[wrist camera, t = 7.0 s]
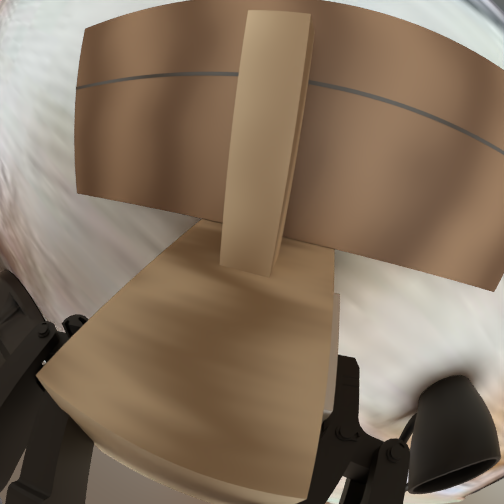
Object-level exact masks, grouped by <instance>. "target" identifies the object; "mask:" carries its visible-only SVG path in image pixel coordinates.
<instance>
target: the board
mask: <svg viewBox="0 0 504 504" xmlns="http://www.w3.org/2000/svg"><path fill="white" fill-rule="evenodd" d="M248 10H268V11H286V12H298V13H307V14H311V17H312V22H313V27H314V31H315V34H314V42H313V50H312V58H311V65H310V72H309V80H308V87H307V93H306V100H305V107H304V114H303V120H302V126H301V133H300V139H299V145H298V151H297V157H296V163H295V169H294V175H293V181H292V187H291V192H290V198H289V204H288V209H287V215H286V220H285V225H284V231H283V237H287V238H291V239H295V240H300V241H304V242H308V243H312V244H316V245H320V246H325V247H329V248H333V249H337V250H341V251H345V252H349V253H353V254H357V255H361V256H365V257H368V258H372V259H376V260H380V261H384V262H388V263H392V264H395V265H399V266H403V267H407V268H411V269H414V270H418V271H422V272H425V273H429V274H433V275H436V276H440V277H443V278H447V279H451V280H454V281H458V282H461V283H465V284H468V285H472V286H475V287H479V288H482V289H485V290H489V291H492V292H494V291H495V289H496V287H497V286H498V284H499V282H500V280H501V278H502V276H503V274H504V70H503V69H501V68H500V67H498V66H497V65H495V64H494V63H492V62H491V61H489V60H487V59H486V58H484V57H482V56H481V55H479V54H477V53H476V52H474V51H472V50H470V49H468V48H467V47H465V46H463V45H461V44H459V43H457V42H455V41H453V40H451V39H449V38H447V37H445V36H442V35H440V34H438V33H436V32H433V31H431V30H429V29H426V28H424V27H421V26H419V25H416V24H413V23H411V22H408V21H405V20H402V19H399V18H396V17H393V16H390V15H387V14H383V13H380V12H376V11H372V10H368V9H364V8H360V7H356V6H351V5H346V4H341V3H336V2H330V1H323V0H189V1H183V2H177V3H171V4H166V5H161V6H157V7H152V8H148V9H144V10H140V11H137V12H133V13H129V14H126V15H123V16H119V17H116V18H113V19H110V20H107V21H105V22H102V23H99V24H96V25H94V26H91V27H89V28H86V29H85V32H84V37H83V43H82V48H81V55H80V61H79V69H78V77H77V87H76V101H75V126H74V146H75V172H76V186H77V193H78V194H83V195H89V196H94V197H99V198H104V199H110V200H115V201H120V202H125V203H130V204H135V205H140V206H145V207H150V208H155V209H160V210H165V211H170V212H175V213H179V214H184V215H189V216H193V217H198V218H203V219H207V220H212V221H217V222H221V223H223V213H224V202H225V191H226V180H227V170H228V160H229V151H230V141H231V132H232V124H233V115H234V107H235V99H236V91H237V83H238V76H239V68H240V61H241V54H242V47H243V40H244V34H245V27H246V21H247V15H248Z"/></svg>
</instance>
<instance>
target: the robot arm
mask: <svg viewBox="0 0 504 504" xmlns="http://www.w3.org/2000/svg"><path fill="white" fill-rule="evenodd" d="M339 312H340V294H337V293H334V296H333V317H332V333H331V346H330V358H329V368H328V378H327V387H326V395H325V403H324V410H323V417H322V424H321V430H320V436H319V442H318V448H317V453H316V458H315V464H314V469H313V473H312V478H311V483H310V487H309V491H308V496H307V499H306V500H304V501H301V502H299V503H296V504H325V503H326V501H327V500H328V498H329V497H330V495H331V494H332V492H333V490H334V489H335V487H336V486H337V484H338V482H339V481H340V479H341V477H342V476H344V477H346V478H347V479H346V482H345V486H344V489H343V492H342V495H341V499H340V502H339V504H403V500H404V495H405V489H406V483H407V477H408V469H409V461H410V449H409V447H408V445H407V444H406V443H405V442H404V441H403V440H400V439H397V438H396V439H389V440H387V441H385V442H384V441H381V440H379V439H376V438H374V437H372V436H370V435H368V434H367V433H365V432H364V431H363V429H362V428H361V426H360V424H359V419H358V413H359V366H358V364H357V361H356V359H355V358H352V357H347V356H342V355H338V341H339ZM87 321H88V319H87V318H86V317H85V316H83V315H72V316H69V317H68V318H66V319H65V320H64V321H63V323H62V325H63V327H64V329H65V332H66V333H64V332H59V331H57V330H56V327H55V325H54V324H53V323H52V322H48V321H45V322H44V320H43V318H42V316H41V314H40V312H39V310H38V309H37V307H36V305H35V304H34V302H33V301H32V299H31V297H30V296H29V294H28V293H27V292H26V290H25V289H24V287H23V286H22V285H21V283H20V282H19V281H18V280H17V278H16V277H15V276H14V275H13V274H12V273H10V272H9V271H7V270H4V271H3V272H1V273H0V492H1V491H2V490H3V489H4V487H5V486H6V485H7V483H8V481H9V480H10V478H11V476H12V474H13V472H14V470H15V468H16V466H17V464H18V462H19V460H20V458H21V456H22V454H23V452H24V450H25V449H26V452H25V456H24V460H23V465H22V469H21V474H20V478H19V479H18V480H17V481H15V482H12V483H11V484H10V485H9V487H8V490H7V496H6V503H5V504H85V499H86V490H87V483H88V475H89V469H90V463H91V457H92V451H93V446H94V441H93V440H92V439H91V438H90V437H89V436H88V435H87V434H86V433H85V432H84V431H83V430H82V429H81V428H80V427H79V426H78V424H77V423H76V422H75V421H74V420H73V419H72V418H71V417H70V415H69V414H67V413H66V412H65V411H63V410H62V409H61V408H60V407H59V406H58V404H57V403H56V402H55V401H54V399H53V398H52V397H51V396H50V394H49V393H48V392H47V390H46V389H45V388H44V386H43V385H42V384H41V382H40V381H39V379H38V378H37V377H36V374H37V373H38V372H39V371H40V370H41V369H42V368H43V367H44V366H45V364H44V365H42V362H43V361H44V360H45V361H46V363H47V362H48V361H49V360H50V359H51V358H52V357H53V356H54V355H55V354H56V353H57V352H58V351H59V350H60V348H61V347H62V346H63V345H64V344H65V343H66V342H67V341H68V340H69V339H70V338H71V337H72V336H73V335H74V334H75V333H76V332H77V331H78V330H79V329H80V328H81V327H82V326H83V325H84V324H85V323H86V322H87ZM26 447H27V448H26ZM0 504H2V500H1V498H0Z"/></svg>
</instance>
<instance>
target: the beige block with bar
mask: <svg viewBox="0 0 504 504" xmlns="http://www.w3.org/2000/svg"><path fill="white" fill-rule="evenodd" d="M314 34H315V31H314V27H313V22H312V17H311V14H307V13H298V12H286V11H268V10H248V15H247V21H246V27H245V34H244V40H243V47H242V54H241V61H240V68H239V76H238V83H237V91H236V99H235V107H234V115H233V124H232V132H231V141H230V151H229V160H228V170H227V180H226V191H225V202H224V213H223V223H221V222H217V221H212V220H207V219H203V218H202V219H201V220H200V221H199V222H198V223H196V224H195V225H194V226H193V227H191V228H190V229H189V230H188V231H187V232H185V233H184V234H183V235H182V236H181V237H179V238H178V239H177V240H176V241H175V242H174V243H172V244H171V245H170V246H169V247H168V248H167V249H165V250H164V251H163V252H162V253H161V254H160V255H158V256H157V257H156V258H155V259H154V260H153V261H152V262H150V263H149V264H148V265H147V266H146V267H145V268H144V269H143V270H141V271H140V272H139V273H138V274H137V275H136V276H135V277H134V278H133V279H131V280H130V281H129V282H128V283H127V284H126V285H125V286H124V287H123V288H122V289H121V290H120V291H118V292H117V293H116V294H115V295H114V296H113V297H112V298H111V299H110V300H109V301H108V302H107V303H106V304H105V305H104V306H103V307H101V308H100V309H99V310H98V311H97V312H96V313H95V314H94V315H93V316H92V317H91V318H90V319H89V320H88V321H87V322H86V323H85V324H84V325H83V326H82V327H81V328H80V329H79V330H78V331H77V332H76V333H75V334H74V335H73V336H72V337H71V338H70V339H69V340H68V341H67V342H66V343H65V344H64V345H63V346H62V347H61V348H60V350H59V351H58V352H57V353H56V354H55V355H54V356H53V357H52V358H51V359H50V360H49V361H48V362H47V363H46V364H45V366H44V367H43V368H42V369H41V370H40V371H39V372H38V373H37V374H36V377H37V378H38V379H39V381H40V382H41V384H42V385H43V386H44V388H45V389H46V390H47V392H48V393H49V394H50V396H51V397H52V398H53V399H54V401H55V402H56V403H57V404H58V406H59V407H60V408H61V409H62V410H63V411H65V412H66V413H67V414H69V415H70V417H71V418H72V419H73V420H74V421H75V422H76V423H77V424H78V426H79V427H80V428H81V429H82V430H83V431H84V432H85V433H86V434H87V435H88V436H89V437H90V438H91V439H92V440H93V441H94V445H95V446H96V447H97V448H99V450H100V451H102V452H103V453H105V454H106V455H108V456H110V457H111V458H113V459H115V460H116V461H118V462H120V463H122V464H123V465H125V466H127V467H128V468H130V469H132V470H134V471H136V472H138V473H140V474H142V475H144V476H146V477H148V478H150V479H152V480H154V481H156V482H158V483H160V484H163V485H165V486H167V487H169V488H172V489H174V490H176V491H179V492H181V493H184V494H187V495H189V496H192V497H195V498H198V499H200V500H203V501H206V502H209V503H212V504H296V503H299V502H301V501H304V500H306V499H307V496H308V491H309V487H310V483H311V478H312V473H313V469H314V464H315V458H316V453H317V448H318V442H319V436H320V430H321V424H322V417H323V410H324V403H325V395H326V387H327V378H328V368H329V358H330V346H331V333H332V317H333V296H334V249H333V248H329V247H325V246H320V245H316V244H312V243H308V242H304V241H300V240H295V239H291V238H287V237H283V231H284V225H285V220H286V215H287V209H288V204H289V198H290V192H291V187H292V181H293V175H294V169H295V163H296V157H297V151H298V145H299V139H300V133H301V126H302V120H303V114H304V107H305V100H306V93H307V87H308V80H309V72H310V65H311V58H312V50H313V42H314Z"/></svg>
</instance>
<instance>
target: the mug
mask: <svg viewBox="0 0 504 504" xmlns="http://www.w3.org/2000/svg"><path fill="white" fill-rule="evenodd" d="M412 433H413V435H412V441H411V447H410V461H409V475H408V483H407V484H406V489H405V492H406V491H408V492H409V493H411V494H425V493H432V492H436V491H441V490H444V489H448V488H451V487H454V486H457V485H459V484H462V483H464V482H467V481H469V480H471V479H473V478H475V477H477V476H479V475H481V474H483V473H484V472H486V471H487V470H489V469H490V468H492V467H493V466H494V465H496V464H497V463H498V462H499V460H500V459H501V454H500V447H499V441H498V436H497V431H496V427H495V424H494V422H493V419H492V416H491V414H490V412H489V410H488V408H487V406H486V404H485V402H484V401H483V399H482V397H481V396H480V394H479V393H478V392H477V390H476V389H475V388H474V386H473V385H472V383H471V382H470V380H469V379H468V378H467V377H465V376H451V377H448V378H445V379H443V380H440V381H438V382H436V383H435V384H433V385H431V386H430V387H429V388H427V389H426V390H425V391H424V392H423V394H422V395H421V397H420V399H419V406H418V411H417V413H415V414H414V415H413V416H412V417H411V419H410V420H409V421H408V423H407V425H406V426H405V428H404V430H403V432H402V434H401V436H400V438H399V439H400V440H403V441H404V442H405V443H407V441H408V440H409V438H410V436H411V434H412Z"/></svg>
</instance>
